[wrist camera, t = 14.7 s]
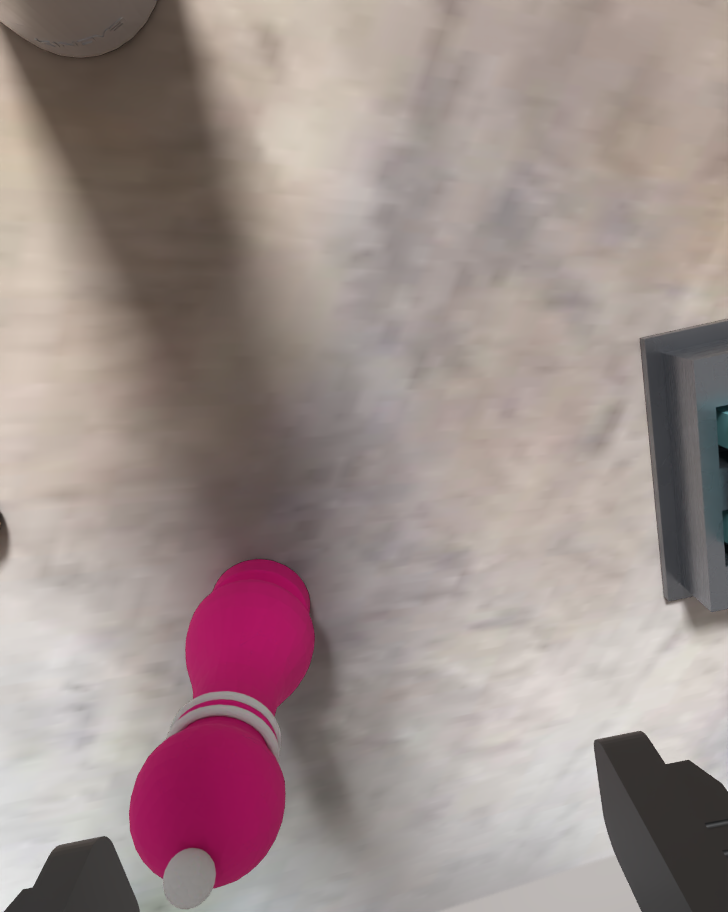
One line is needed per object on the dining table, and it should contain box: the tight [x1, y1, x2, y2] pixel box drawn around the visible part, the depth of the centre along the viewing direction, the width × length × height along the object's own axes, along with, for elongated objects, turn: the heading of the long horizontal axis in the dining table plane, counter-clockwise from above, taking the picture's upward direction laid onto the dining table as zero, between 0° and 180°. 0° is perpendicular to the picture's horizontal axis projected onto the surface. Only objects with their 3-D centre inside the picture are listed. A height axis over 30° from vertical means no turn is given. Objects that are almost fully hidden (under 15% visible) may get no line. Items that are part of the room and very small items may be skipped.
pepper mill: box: [129, 559, 315, 909], centre depth 31 cm, size 7×7×20 cm
